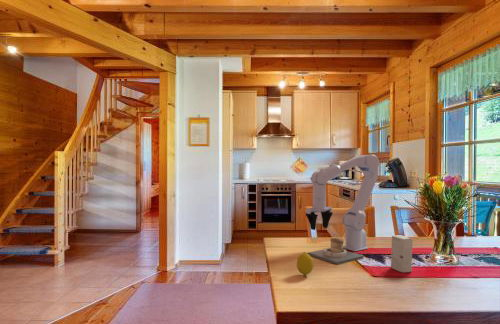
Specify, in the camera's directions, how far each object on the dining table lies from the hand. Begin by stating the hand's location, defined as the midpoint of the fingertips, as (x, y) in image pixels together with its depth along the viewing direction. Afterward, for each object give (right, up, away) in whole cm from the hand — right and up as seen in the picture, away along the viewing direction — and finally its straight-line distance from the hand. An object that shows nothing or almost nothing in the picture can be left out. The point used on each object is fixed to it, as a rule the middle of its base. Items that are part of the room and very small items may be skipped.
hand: (319, 228), depth 141 cm
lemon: (-12, -10, -32) cm, 36 cm away
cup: (+5, -9, -9) cm, 14 cm away
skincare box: (+25, -10, -26) cm, 37 cm away
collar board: (+5, -10, -9) cm, 14 cm away
